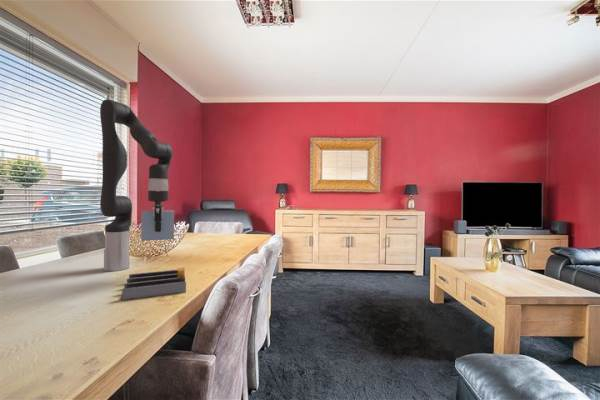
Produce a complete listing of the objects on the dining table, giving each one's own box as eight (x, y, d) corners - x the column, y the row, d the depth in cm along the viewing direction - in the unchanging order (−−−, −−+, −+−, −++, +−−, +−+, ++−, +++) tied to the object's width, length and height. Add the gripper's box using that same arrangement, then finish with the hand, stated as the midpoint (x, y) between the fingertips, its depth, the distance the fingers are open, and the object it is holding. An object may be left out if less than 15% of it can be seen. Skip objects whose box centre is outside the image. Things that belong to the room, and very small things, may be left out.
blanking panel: (141, 240, 110) (141, 211, 110) (141, 239, 113) (142, 210, 113) (173, 239, 116) (174, 211, 115) (173, 238, 118) (174, 210, 118)
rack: (122, 300, 88) (122, 282, 88) (129, 283, 104) (129, 267, 104) (185, 292, 96) (186, 275, 96) (183, 277, 113) (183, 263, 113)
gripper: (149, 189, 119) (148, 229, 119) (147, 189, 106) (146, 233, 106) (168, 190, 122) (168, 228, 122) (168, 190, 109) (168, 233, 110)
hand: (158, 230), depth 114 cm, fingers closed on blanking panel, 3 cm apart
